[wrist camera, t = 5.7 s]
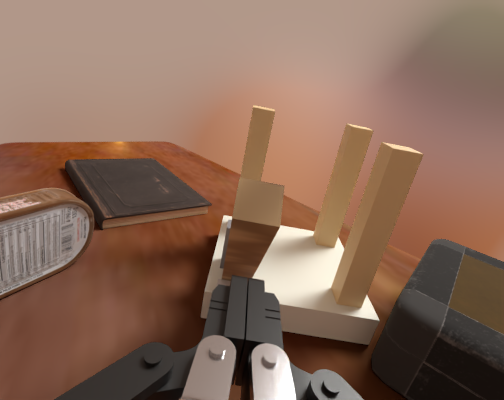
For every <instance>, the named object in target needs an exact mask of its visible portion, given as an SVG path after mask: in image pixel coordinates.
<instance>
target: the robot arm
mask: <svg viewBox="0 0 504 400" xmlns="http://www.w3.org/2000/svg"><path fill="white" fill-rule="evenodd" d="M235 376H236V380H235ZM234 380H235V385H239V386H242V387H241V398H240V400H364V399H363V398H362V397H361V396H360V395H359V394H358V393H357V392H356V391H355V390H354V389H353V388H352V387H351V386H350V385H349V384H348V383H347V382H346V381H345V380H344V379H343V378H342V377H341V376H340V375H338V374H337V373H335V372H333V371H331V370H326V369H321V370H318V371H316V372H315V373H314V374H313V375H312V374H309V373H307V372H305V371H303V370H301V369H299V368H297V367H296V366H294V365H293V364H292V363H291V362H290V361H289V359H288V356H287V355H286V353H285V352H284V349H283V338H282V327H281V316H280V304H279V301H278V299H277V298H276V296H275V294H274V293H268V292H265V282H264V280H260V279H254V278H247V277H242V276H236V275H232V277H231V282H230V286H226V285H220V284H218V286H217V287H216V288H215V289H214V290H213V291H212V296H211V300H210V305H209V309H208V314H207V319H206V323H205V328H204V332H203V336H202V339H201V341H200V342H199V343H198V344H197V345H196V346H195V347H193V348H191V349H189V350H186V351H180V352H173V351H172V349H171V348H170V347H169V346H167V345H166V344H163V343H159V342H152V343H147V344H145V345H143V346H141V347H139V348H138V349H136V350H134V351H133V352H131V353H129V354H128V355H126V356H124V357H123V358H121V359H120V360H118V361H116V362H115V363H113V364H111V365H110V366H108V367H106V368H105V369H103V370H102V371H100V372H98V373H97V374H95V375H93V376H92V377H90V378H89V379H87V380H85V381H84V382H82V383H80V384H79V385H77V386H75V387H74V388H72V389H71V390H69V391H67V392H66V393H64V394H62V395H61V396H59V397H57V398H56V399H54V400H228V398H229V392H230V387H231V384H232V385H233V384H234Z"/></svg>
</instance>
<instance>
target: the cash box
mask: <svg viewBox="0 0 504 400" xmlns="http://www.w3.org/2000/svg"><path fill="white" fill-rule="evenodd" d="M371 360H372V370H373V371H374V372H375V374H376V375H377V376H378V377H379V378H380V379H381V380H382V381H383V382H384V383H385V384H386V385H388V386H389V387H391V388H392V389H394V390H395V391H397V392H398V393H399V394H401V395H402V396H404V397H405V398H407V399H408V400H504V262H502V261H500V260H497V259H495V258H492V257H490V256H487V255H485V254H482V253H480V252H477V251H475V250H472V249H469V248H467V247H465V246H462V245H459V244H457V243H454V242H452V241H449V240H446V239H437V240H433V241H432V243H431V244H430V246H429V247H428V249H427V251H426V253H425V254H424V256H423V257H422V259H421V261H420V262H419V264H418V266H417V267H416V269H415V271H414V272H413V274H412V276H411V277H410V279H409V281H408V282H407V284H406V286H405V287H404V289H403V291H402V292H401V294H400V296H399V297H398V299H397V301H396V303H395V305H394V307H393V309H392V312H391V314H390V316H389V318H388V320H387V323H386V325H385V327H384V329H383V331H382V334H381V336H380V338H379V340H378V342H377V345H376V347H375V349H374V351H373V353H372V358H371Z"/></svg>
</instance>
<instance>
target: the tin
mask: <svg viewBox="0 0 504 400" xmlns="http://www.w3.org/2000/svg"><path fill="white" fill-rule="evenodd" d="M93 230H94V214H93V211H92V210H91V208H90V207H89V206H88V205H87V204H86V203H85V202H83V201H82V200H80V199H78V198H77V197H75V196H74V195H73V194H72V193H70V192H69V191H66V190H64V189H60V188H44V189H39V190H35V191H29V192H25V193H20V194H15V195H10V196H6V197H1V198H0V299H2V298H4V297H6V296H8V295H11V294H13V293H15V292H17V291H19V290H21V289H24V288H26V287H28V286H30V285H32V284H35V283H37V282H39V281H41V280H43V279H46V278H48V277H50V276H52V275H54V274H56V273H59V272H61V271H62V270H64V269H66V268H68V267H69V266H70V265H72V264H73V263H74V262H75V261H76V260H77V259H78V258H80V256H81V255H82V254H83V253H84V252H85V250H86V249H87V247H88V245H89V244H90V242H91V239H92V235H93Z"/></svg>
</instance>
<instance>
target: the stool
mask: <svg viewBox="0 0 504 400" xmlns="http://www.w3.org/2000/svg"><path fill="white" fill-rule="evenodd" d="M274 114H275V110H274V109H270V108H265V107H259V106H255V105H254V106H253V111H252V117H251V122H250V128H249V133H248V139H247V144H246V150H245V155H244V161H243V166H242V172H241V177H240V178H245V179H251V180H256V181H261V176H262V171H263V167H264V162H265V157H266V153H267V148H268V143H269V138H270V133H271V129H272V124H273V119H274ZM372 134H373V130H371V129H368V128H366V127H361V126H356V125H351V124H346V127H345V130H344V134H343V137H342V141H341V144H340V147H339V151H338V154H337V157H336V160H335V164H334V168H333V171H332V174H331V177H330V181H329V184H328V187H327V191H326V194H325V198H324V201H323V204H322V208H321V211H320V214H319V218H318V221H317V224H316V228H315V231H309V230H303V229H298V228H292V227H286V226H281V225H280V228H279V230H278V232H277V234H276V236H275V237H274V239H273V241H272V243H271V245H270V247H269V248H268V250H267V252H266V254H265V256H264V258H263V259H262V261H261V263H260V265H259V267H258V269H257V270H256V272H255V274H254V276H253V278H254V279H260V280H264V282H265V292H268V293H274V294H275V296H276V298H277V299H278V301H279V304H280V316H281V327H282V331H285V332H292V333H298V334H304V335H310V336H316V337H322V338H329V339H335V340H341V341H347V342H353V343H360V344H366V345H369V344H370V341H371V339H372V337H373V334H374V332H375V330H376V328H377V325H378V323H379V321H380V320H379V318H378V316H377V314H376V312H375V310H374V308H373V306H372V304H371V302H370V300H369V298H368V296H367V293H368V290H369V288H370V285H371V283H372V281H373V278H374V276H375V273H376V271H377V268H378V266H379V263H380V261H381V258H382V256H383V253H384V251H385V248H386V246H387V244H388V241H389V239H390V236H391V234H392V231H393V229H394V226H395V223H396V221H397V219H398V216H399V214H400V211H401V209H402V206H403V204H404V201H405V199H406V197H407V194H408V192H409V189H410V187H411V184H412V182H413V179H414V177H415V174H416V172H417V170H418V167H419V165H420V162H421V160H422V157H423V154H422V153H420V152H418V151H416V150H413V149H411V148H409V147H404V146H398V145H394V144H388V143H383V142H382V143H381V145H380V148H379V151H378V154H377V157H376V160H375V163H374V165H373V168H372V171H371V175H370V177H369V180H368V183H367V186H366V188H365V191H364V194H363V197H362V200H361V203H360V206H359V209H358V212H357V214H356V218H355V220H354V223H353V226H352V229H351V232H350V234H349V237H348V240H347V243H346V246H345V249H344V248H343V246H342V244H341V242H340V240H339V238H338V236H339V233H340V230H341V227H342V224H343V221H344V218H345V215H346V211H347V209H348V206H349V203H350V200H351V197H352V194H353V191H354V188H355V185H356V182H357V179H358V176H359V172H360V170H361V167H362V164H363V161H364V158H365V155H366V152H367V149H368V146H369V143H370V140H371V137H372ZM231 222H232V217H231V216H225V215H224V217H223V221H222V225H221V229H220V233H219V236H218V240H217V244H216V248H215V252H214V256H213V260H212V264H211V268H210V272H209V275H208V279H207V283H206V287H205V291H204V297H203V303H202V310H201V316H200V318H205V319H207V314H208V309H209V305H210V300H211V296H212V291H213V290H214V289H215V288H216V287H217V286H218V284H220V285H226V286H230V282H231V281H229V280H223V279H222V274H223V269H224V263H225V257H226V251H227V245H228V239H229V233H230V228H231Z"/></svg>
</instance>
